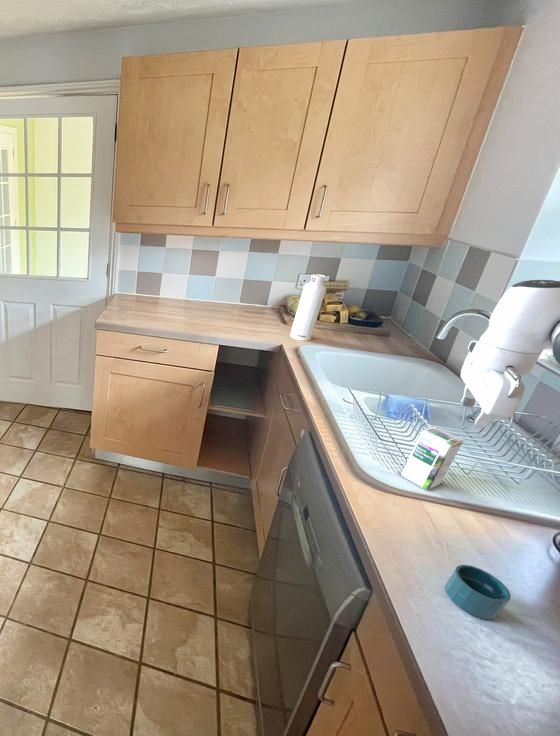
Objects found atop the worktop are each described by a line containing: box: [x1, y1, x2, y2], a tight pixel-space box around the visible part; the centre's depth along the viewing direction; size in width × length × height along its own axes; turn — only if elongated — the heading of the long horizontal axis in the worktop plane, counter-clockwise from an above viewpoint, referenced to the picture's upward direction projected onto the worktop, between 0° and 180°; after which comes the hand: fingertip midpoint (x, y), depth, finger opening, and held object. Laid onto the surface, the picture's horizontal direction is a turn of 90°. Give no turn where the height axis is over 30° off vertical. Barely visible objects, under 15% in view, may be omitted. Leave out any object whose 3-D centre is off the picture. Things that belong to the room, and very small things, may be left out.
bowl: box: [444, 564, 512, 620], centre depth 72 cm, size 7×7×5 cm
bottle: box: [289, 273, 327, 342], centre depth 178 cm, size 8×8×28 cm
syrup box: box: [400, 426, 465, 491], centre depth 96 cm, size 6×6×14 cm
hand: (472, 415), depth 90 cm, fingers open, 8 cm apart
